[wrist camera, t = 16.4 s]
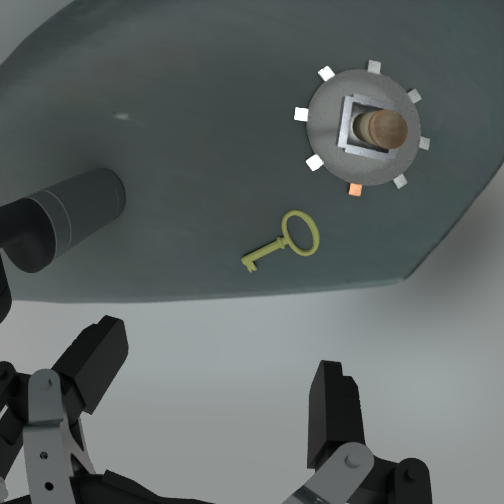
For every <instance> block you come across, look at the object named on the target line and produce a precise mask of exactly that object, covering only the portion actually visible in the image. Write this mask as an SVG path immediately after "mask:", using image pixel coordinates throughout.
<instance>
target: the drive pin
mask: <svg viewBox="0 0 504 504" xmlns="http://www.w3.org/2000/svg"><path fill="white" fill-rule="evenodd" d="M352 130H353V133H354V135H355V136H356V137H357V138H358V139H359V140H360V141H363V142H366V143H370V144H373V145H377V146H380V147H382V148H385V149H396V148H398V147H400V146H401V145H402V144H403V143H404V142H405V140H406V138H407V135H408V127H407V124H406V121H405V120H404V118H403V117H402V116H401V115H400V114H399V113H398V112H396V111H394V110H389V109H385V110H380V111H374V112H366V113H361V114H359V115H357V116H356V117H355V118H354V120H353V123H352Z"/></svg>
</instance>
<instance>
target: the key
mask: <svg viewBox="0 0 504 504" xmlns="http://www.w3.org/2000/svg"><path fill="white" fill-rule="evenodd" d="M292 215H298V216H299V217H301V218H302V219H303V220H304V221H305V222H306V223H307V224H308V226H309V228H310V230H311V232H312V236H313V246H312V247H311V248H310V249H309V250H302V249H300V248H299V247H297V246H296V245H295V244H294V242H293V241H292V239H291V237H290V235H289V233H288V230H287V219H288V218H289V217H290V216H292ZM281 227H282V232H283V235H284V237H282V238H281V237H277V240H276V241H274V242H272V243H270V244H268V245H266V246H264V247H262V248H260V249H258V250H256V251H254V252H252V253H250V254H248V255H246V256H244V257H242V258H241V260H242V262H243V264H244V265H246V266H247V268H248V269H249V271H250V273H251V272H252V270H254V271H255V270H257V268H256V266H255V264H254V263H253V261H254V260H256V259H258V258H260V257H262V256H264V255H266V254H268V253H270V252H272V251H274V250H276V249H278V248H280V247H281V248H282V249H284V248H285V245H286V244H289V246H290V247H291V248H292V249H293V250H294V251H295V252H296V253H298V254H299V255H302V256H309V255H311V254H313V253H314V252H315V251H316V250H317V248H318V245H319V240H320V238H319V231H318V229H317V226H316V224H315V222H314V221H313V219H312V218H311V217H310V216H309V215H308V214H307V213H305V212H303V211H301V210H297V209H294V210H290V211H288V212H287V213H286V214H285V215H284V216H283V218H282V223H281ZM251 269H252V270H251Z"/></svg>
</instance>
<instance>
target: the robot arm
mask: <svg viewBox="0 0 504 504" xmlns="http://www.w3.org/2000/svg"><path fill="white" fill-rule="evenodd" d="M124 203H125V194H124V189H123V186H122V184H121V182H120V180H119V179H118V177H117V176H116V175H115V174H114V173H112V172H111V171H109V170H106V169H96V170H93V171H90V172H87V173H84V174H81V175H78V176H76V177H73V178H70V179H68V180H65V181H62V182H60V183H57V184H55V185H52V186H50V187H47V188H45V189H42V190H40V191H38V192H35V193H33V194H31V195H28V196H26V197H24V198H21V199H19V200H17V201H15V202H12V203H9V204H7V205H4V206H1V207H0V248H1V247H2V248H3V249H4V251H5V253H6V254H7V256H8V257H9V259H10V260H11V261H12V262H13V263H14V264H15V265H16V266H17V267H18V268H19V269H21V270H22V271H25V272H27V273H35V272H38V271H40V270H42V269H43V268H44V267H46V266H47V265H48V264H50V263H51V262H52V261H54V260H55V259H57V258H58V257H59V256H61V255H62V254H63V253H65V252H66V251H68V250H69V249H70V248H72V247H73V246H75V245H76V244H78V243H79V242H80V241H82V240H83V239H85V238H86V237H88V236H89V235H91V234H92V233H94V232H95V231H97V230H98V229H100V228H101V227H103V226H105V225H106V224H108V223H109V222H111V221H112V220H114V219H115V218H117V217H118V216H119V215H120V213H121V212H122V210H123V207H124ZM11 303H12V298H11V293H10V289H9V285H8V282H7V278H6V274H5V270H4V267H3V263H2V259H1V255H0V323H1V322H2V321H3V320H4V319H5V317H6V316H7V314H8V312H9V310H10V308H11ZM127 355H128V342H127V336H126V331H125V326H124V322H123V320H121V319H118V318H115V317H111V316H108V315H105V316H104V317H103V318H102V319H101V320H100V321H99V323H98V324H92V325H90V326H88V327H87V328H85V329H83V331H82V332H81V333H80V334H79V335H78V337H77V339H75V340H74V341H73V343H72V345H70V346H69V347H68V348H67V350H66V351H65V352H64V353H63V354H62V356H61V357H60V358H59V359H58V361H57V362H56V363H55V364H54V366H53V367H52V368H51V369H41V370H38V371H36V372H35V373H34V374H33V375H29V374H23V373H18V372H16V370H15V368H14V366H13V365H12V364H11V363H9V362H6V361H1V362H0V412H1V411H2V409H3V408H4V406H5V405H6V406H7V407H8V409H7V410H6V412H5V413H4V415H3V416H2V418H1V419H0V504H214V503H208V502H204V501H200V500H196V499H180V498H179V499H178V498H165V497H160V496H158V495H156V494H154V493H153V492H151V491H149V490H148V489H146V488H145V487H143V486H141V485H140V484H138V483H137V482H135V481H133V480H131V479H129V478H126V477H124V476H121V475H119V474H116V473H114V472H111V471H109V470H107V469H106V471H105V473H104V475H103V474H96V472H95V470H94V467H93V465H92V463H91V461H90V459H89V456H88V452H87V449H86V444H85V439H84V434H83V429H82V424H81V419H80V414H81V413H82V411H84V412H86V413H89V414H91V415H92V413H93V412H94V410H95V409H96V407H97V405H98V404H99V402H100V400H101V399H102V397H103V395H104V394H105V392H106V390H107V389H108V387H109V385H110V384H111V382H112V381H113V379H114V377H115V376H116V374H117V372H118V371H119V369H120V368H121V366H122V365H123V363H124V361H125V360H126V358H127ZM360 407H361V405H360V400H359V391H358V386H357V384H356V383H355V381H354V380H353V378H352V377H351V376H343V373H342V365H341V363H340V362H335V361H325V360H321V362H320V364H319V367H318V369H317V372H316V375H315V377H314V380H313V382H312V385H311V388H310V393H309V424H308V425H309V426H308V455H307V468H310V469H315V474H314V475H313V476H312V477H311V478H310V479H309V480H308V481H307V482H306V483H305V484H304V485H303V486H302V487H301V488H299V489H298V490H297V491H295V492H294V493H293V494H292V495H291V496H290V497H289V498H288V499H287V500H285V501H284V502H283V503H282V504H345V502H346V503H350V504H432V493H431V483H430V475H429V470H428V467H427V466H426V464H425V463H424V462H423V461H421V460H419V459H416V458H407V459H404V460H402V461H401V462H400V463H395V462H391V461H387V460H384V459H380V458H378V457H376V456H374V455H373V454H372V452H371V451H370V449H369V448H368V447H367V446H366V444H365V439H364V430H363V421H362V413H361V409H360ZM23 444H24V455H25V464H26V472H27V479H28V485H29V491H30V494H29V495H26V496H23V497H20V498H16V499H13V500H10V501H7V502H4V499H6V498H7V496H8V491H7V489H6V486H5V482H4V480H5V478H6V476H7V474H8V472H9V470H10V468H11V466H12V464H13V462H14V460H15V459H16V457H17V455H18V453H19V451H20V449H21V447H22V446H23Z"/></svg>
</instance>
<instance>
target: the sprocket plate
mask: <svg viewBox="0 0 504 504" xmlns="http://www.w3.org/2000/svg"><path fill="white" fill-rule="evenodd" d="M380 64H381V63H379V62H375V61H372V60H368V61H367V63H366V70H361V69H357V70H348V71H344V72H341V73H339V74H336V75H335V74H334V73H333V72H332V71H331V69H330V68H329V67H328V66H327V67H325V68H324V69H322V70H320V71H319V72H318V73H317V74H318V75H319V77H320V78H321V79H322V80H323V82H324V83H323V84H322V85H321V86H320V87H319V88H318V90H317V91H316V92H315V94H314V95H313V97H312V99H311V101H310V104H309V107H308V109H303V108H296V112H295V120H302V121H306V131H307V136H308V140H309V143H310V145H311V148H312V150H313V152H314V153H315V154H313V155H312V156H310V157H309V158H308V159H306V162H307V164H308V165H309V166H310V168H311V169H312V170H313V171H314V170H315V169H317V168H318V167H320V166H321V165H323V166H324V167H325V168H326V169H327V170H328V171H330V172H331V173H332V174H334V175H335V176H337V177H338V178H340V179H342V180H344V181H346V182H349V184H348V189H347V192H348V194H351V195H356V196H360V193H361V189H362V185H363V186H373V185H380V184H384V183H387V182H389V181H391V180H392V182H393V184H394V185H395V187H397V188H398V189H399V188H400V187H402V186H403V185H405V184H406V183H407V181H406V180H405V178H404V176H403V174H402V173H403V172H404V171H405V170H406V169H407V168H408V167H409V166H410V164H411V163H412V162H413V160H414V158H415V156H416V154H417V151H418V148H422V149H426V150H428V148H429V142H430V139H428V138H425V137H421V126H420V119H419V116H418V112H417V110H416V107H415V105H414V103H416V102H417V101H419V100H420V99H422V98H421V97H420V95H419V94H418V92H417V91H416V89H412V90H410V91H408V92H407V93H406V91H405V90H404V89H403V88H402V87H401V86H400V85H399V84H397V83H396V82H395V81H393V80H392V79H390V78H389V77H387V76H385V75H383V74H381V73H380ZM385 109H389V110H394V111H396V112H398V113H399V114H400V115H401V116H402V117H403V118H404V120H405V121H406V124H407V127H408V135H407V138H406V140H405V142H404V143H403V144H402V145H401V146H400V147H398V148H396V149H385V148H382V147H380V146H377V145H373V144H370V143H366V142H363V141H360V140H359V139H358V138H357V137H356V136H355V135H354V133H353V130H352V123H353V120H354V118H355V117H356V116H357V115H359V114H361V113H366V112H374V111H380V110H385Z"/></svg>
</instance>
